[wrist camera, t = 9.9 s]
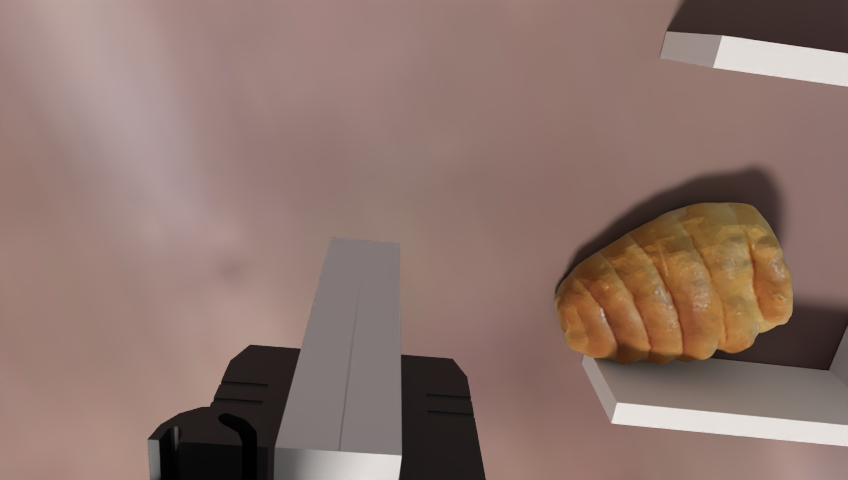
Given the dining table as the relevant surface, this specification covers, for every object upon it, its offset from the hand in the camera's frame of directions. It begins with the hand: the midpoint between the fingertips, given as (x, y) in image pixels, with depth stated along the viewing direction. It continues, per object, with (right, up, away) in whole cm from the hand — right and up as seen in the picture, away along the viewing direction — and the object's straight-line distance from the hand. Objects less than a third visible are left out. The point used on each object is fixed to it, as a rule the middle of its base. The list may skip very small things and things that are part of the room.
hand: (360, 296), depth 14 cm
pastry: (+13, 0, +14) cm, 19 cm away
